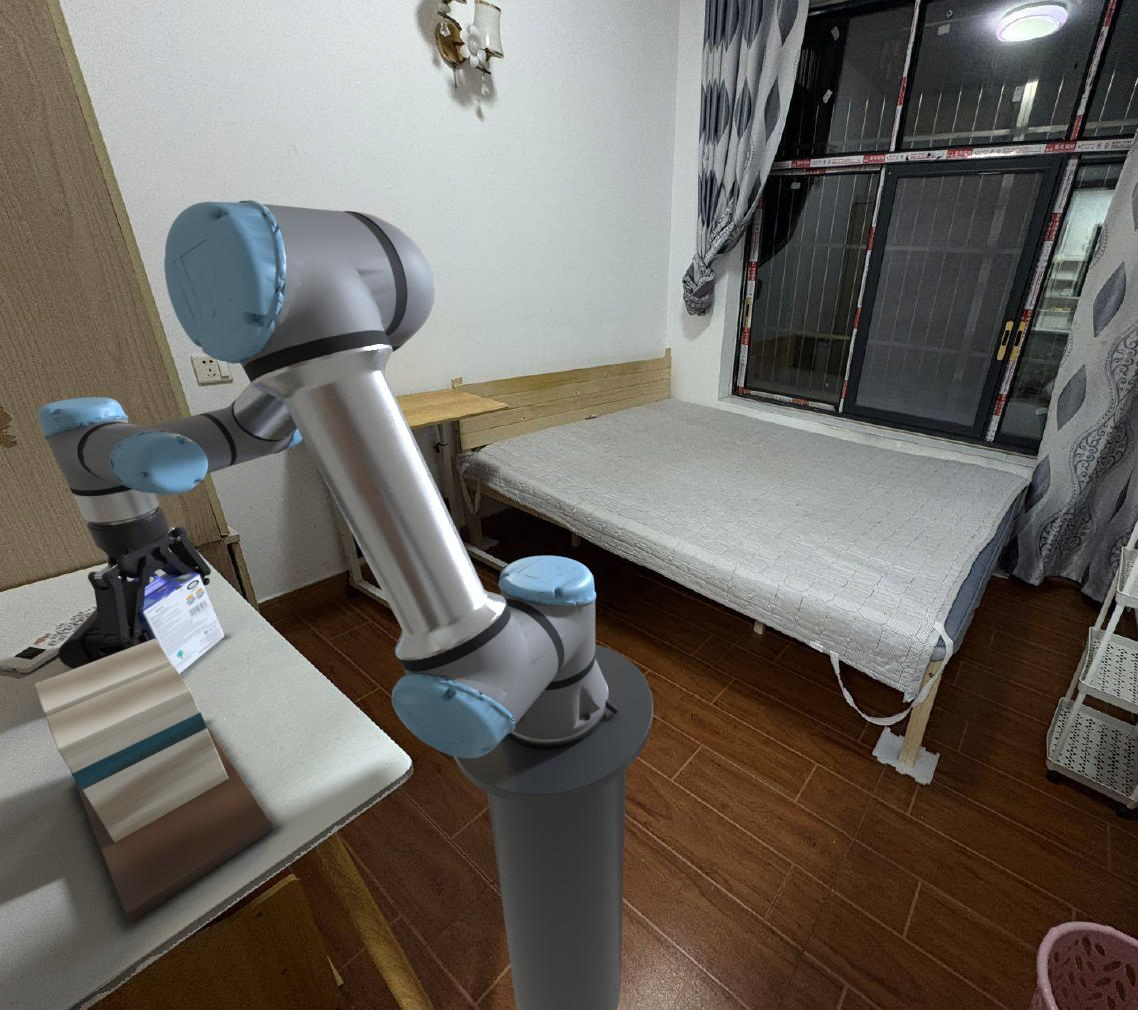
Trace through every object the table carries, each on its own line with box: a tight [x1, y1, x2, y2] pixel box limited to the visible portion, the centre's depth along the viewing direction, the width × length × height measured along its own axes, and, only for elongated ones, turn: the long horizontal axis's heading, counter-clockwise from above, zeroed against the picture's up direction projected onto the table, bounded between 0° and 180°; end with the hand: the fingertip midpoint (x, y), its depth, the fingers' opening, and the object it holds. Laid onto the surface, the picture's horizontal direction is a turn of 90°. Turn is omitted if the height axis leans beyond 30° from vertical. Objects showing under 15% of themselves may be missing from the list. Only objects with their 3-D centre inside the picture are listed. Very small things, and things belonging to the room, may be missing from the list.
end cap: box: [57, 608, 126, 670], centre depth 83 cm, size 10×7×7 cm
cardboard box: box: [33, 639, 275, 923], centre depth 59 cm, size 23×12×16 cm, turn 53°
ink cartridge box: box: [128, 572, 225, 675], centre depth 81 cm, size 10×6×14 cm, turn 179°
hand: (179, 643), depth 83 cm, fingers closed on ink cartridge box, 10 cm apart
